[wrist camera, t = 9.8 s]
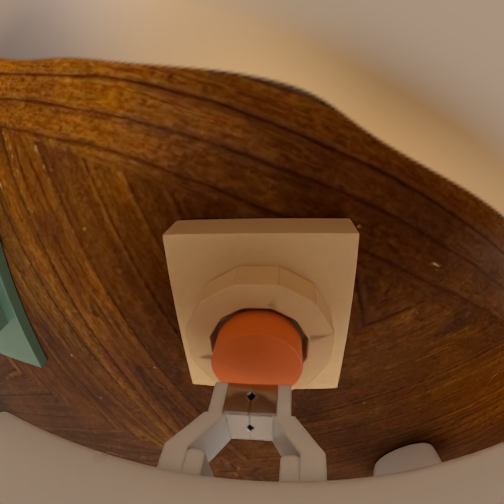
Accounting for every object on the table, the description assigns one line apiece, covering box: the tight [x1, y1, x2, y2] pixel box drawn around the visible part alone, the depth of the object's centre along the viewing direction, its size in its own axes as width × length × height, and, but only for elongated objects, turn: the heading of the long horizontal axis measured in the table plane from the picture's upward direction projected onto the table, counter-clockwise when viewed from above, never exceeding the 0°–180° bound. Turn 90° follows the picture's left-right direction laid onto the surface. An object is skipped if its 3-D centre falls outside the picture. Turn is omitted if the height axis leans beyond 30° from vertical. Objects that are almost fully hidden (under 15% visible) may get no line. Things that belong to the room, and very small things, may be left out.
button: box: [211, 310, 303, 387], centre depth 13 cm, size 4×4×2 cm
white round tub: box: [373, 443, 442, 476], centre depth 22 cm, size 9×9×6 cm
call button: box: [163, 218, 359, 390], centre depth 16 cm, size 10×9×4 cm
